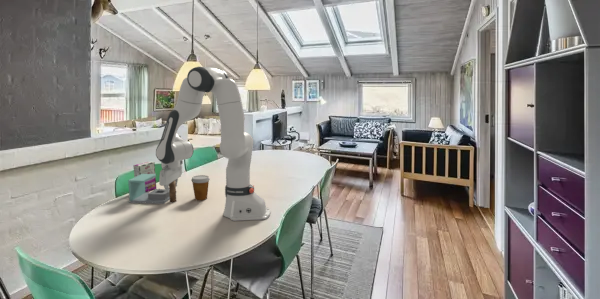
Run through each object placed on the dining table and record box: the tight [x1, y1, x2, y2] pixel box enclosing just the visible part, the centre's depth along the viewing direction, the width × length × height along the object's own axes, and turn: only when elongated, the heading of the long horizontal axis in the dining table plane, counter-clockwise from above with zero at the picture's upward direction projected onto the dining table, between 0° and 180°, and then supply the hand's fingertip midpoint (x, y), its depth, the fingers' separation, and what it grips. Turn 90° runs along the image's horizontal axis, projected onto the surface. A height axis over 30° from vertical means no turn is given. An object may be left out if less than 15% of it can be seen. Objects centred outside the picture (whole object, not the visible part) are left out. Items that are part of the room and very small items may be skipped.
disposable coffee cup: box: [191, 174, 211, 201], centre depth 174 cm, size 10×10×12 cm
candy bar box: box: [132, 161, 157, 193], centre depth 185 cm, size 11×5×16 cm, turn 159°
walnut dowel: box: [169, 181, 177, 203], centre depth 168 cm, size 3×3×11 cm
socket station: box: [127, 173, 170, 205], centre depth 171 cm, size 18×14×12 cm
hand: (171, 189), depth 168 cm, fingers open, 8 cm apart
